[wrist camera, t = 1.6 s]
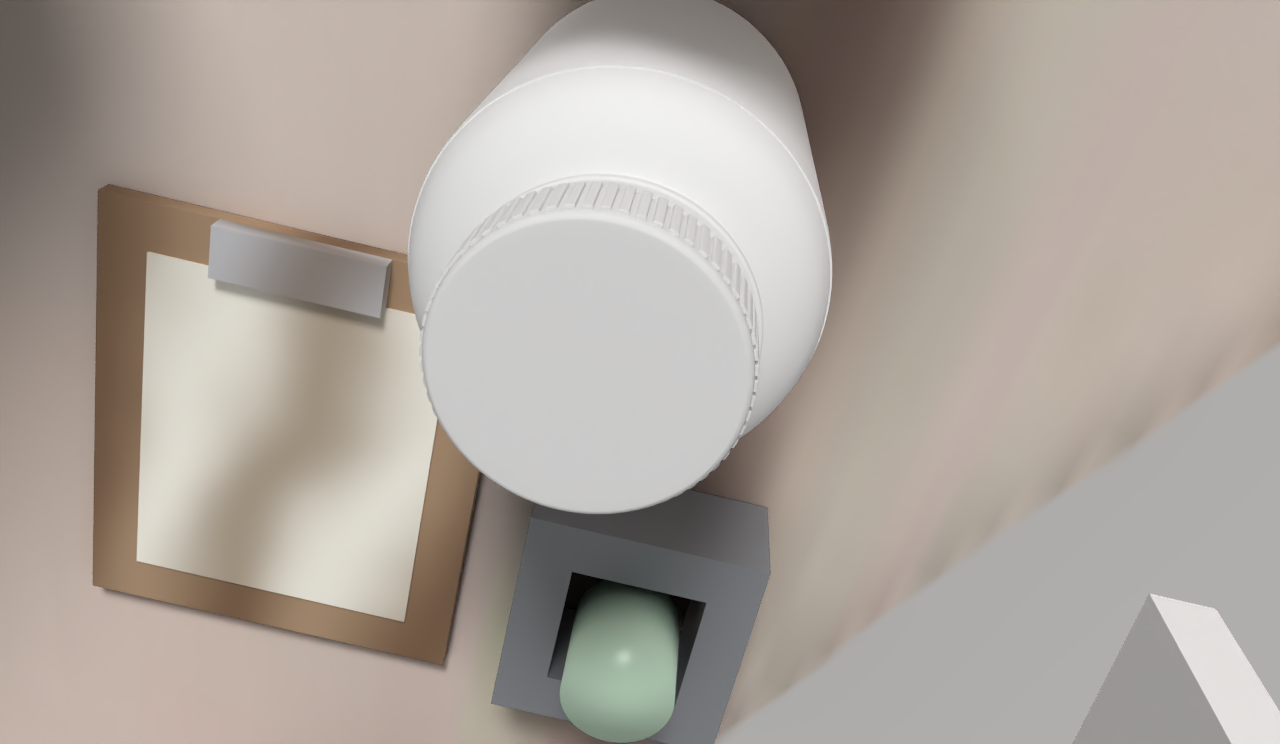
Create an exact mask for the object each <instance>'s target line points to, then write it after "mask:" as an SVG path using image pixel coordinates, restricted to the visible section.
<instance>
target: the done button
mask: <svg viewBox="0 0 1280 744" xmlns="http://www.w3.org/2000/svg"><path fill="white" fill-rule="evenodd" d="M679 633H680V615H679V611H678V608H677V606H676V604H675V602H674V601H673V599H672V598H671V597H670V596H669V594H666V593H662V592H657V591H653V590H649V589H644V588H640V587H636V586H631V585H627V584H623V583H618V582H614V581H610V580H603V581H601V582H599V583H597V584H595V585H593V586H592V587H591V588H590V589H588V590H587V591H586V592H585V593H584V595H583V596H582V597H581V599H580V601H579V603H578V606H577V609H576V614H575V619H574V624H573V628H572V633H571V638H570V643H569V648H568V652H567V657H566V662H565V667H564V672H563V676H562V681H561V686H560V702H561V705H562V708H563V710H564V712H565V714H566V716H567V717H568V719H569V720H570V721H571V722H572V723H573V724H574V725H575V726H576V727H577V728H578V729H580V730H581V731H583V732H584V733H586V734H588V735H590V736H592V737H594V738H597V739H600V740H603V741H608V742H615V743H628V742H635V741H639V740H642V739H645V738H648V737H650V736H652V735H654V734H655V733H657V732H658V731H659V730H661V729H662V728H663V727H664V726H665V725H666V723H667V722H668V721H669V719H670V717H671V715H672V713H673V709H674V703H675V689H676V675H677V661H678V647H679Z"/></svg>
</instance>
